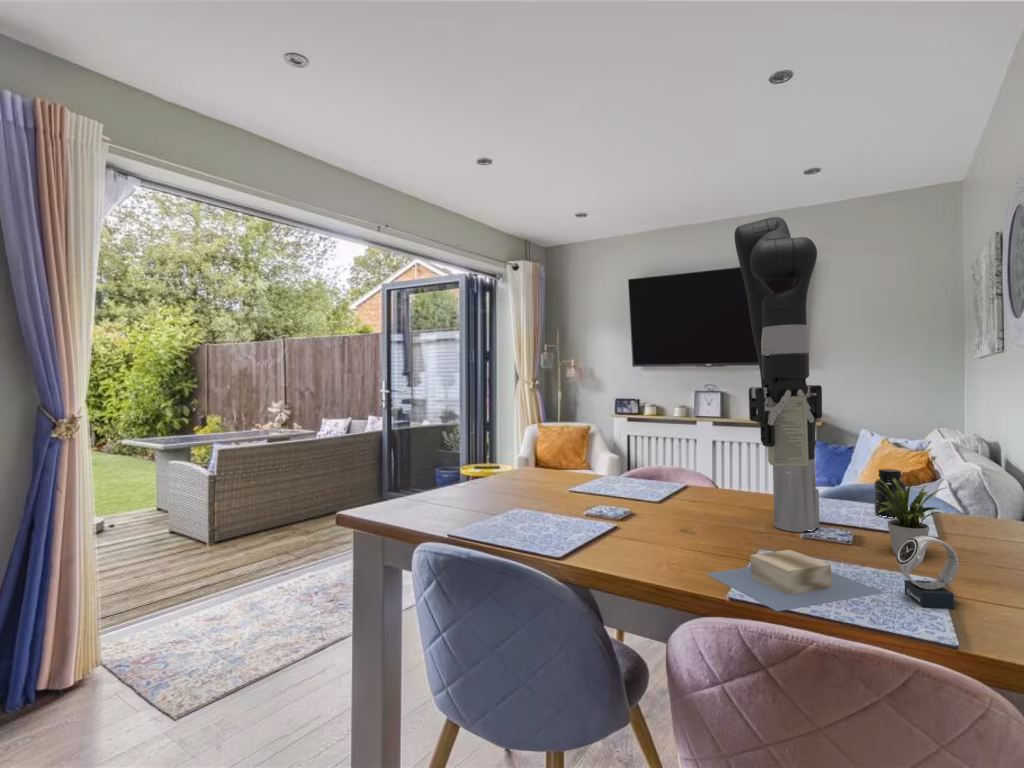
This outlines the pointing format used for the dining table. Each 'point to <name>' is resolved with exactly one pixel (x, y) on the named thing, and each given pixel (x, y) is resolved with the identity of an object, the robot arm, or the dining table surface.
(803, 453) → the skincare box
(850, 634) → the dining table surface
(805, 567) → the plinth block
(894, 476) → the supplement bottle
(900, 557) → the watch
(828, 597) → the slate gray board
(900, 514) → the house plant
